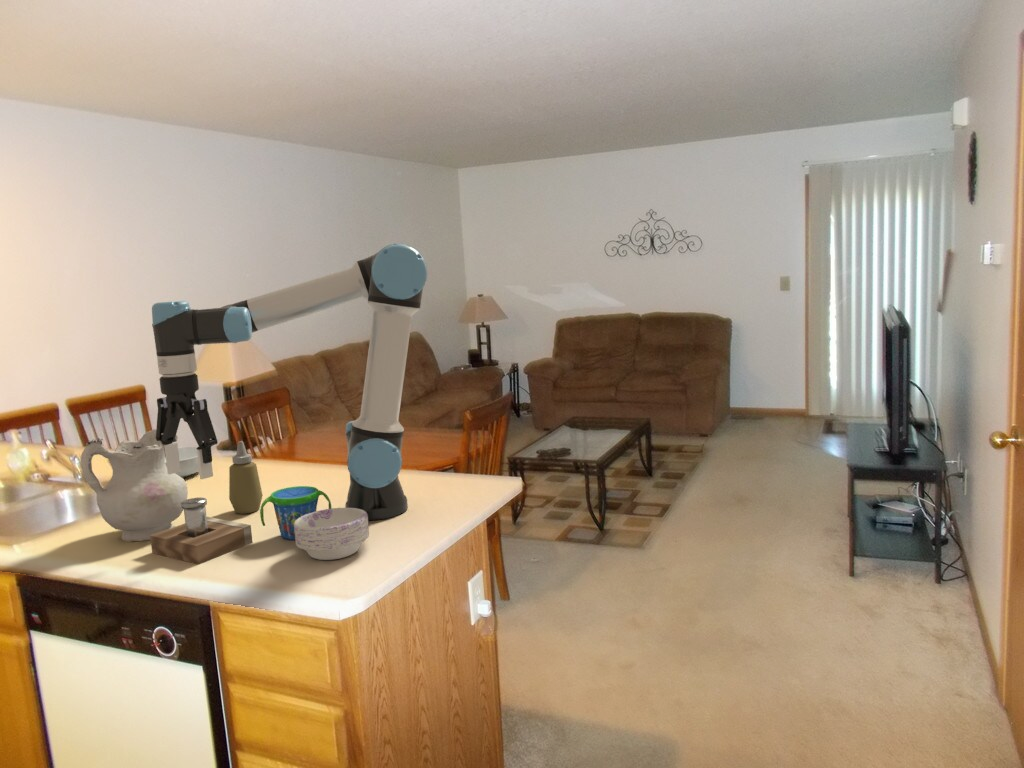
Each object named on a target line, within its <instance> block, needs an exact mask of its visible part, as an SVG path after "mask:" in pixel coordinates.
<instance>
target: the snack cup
mask: <svg viewBox="0 0 1024 768" xmlns="http://www.w3.org/2000/svg"><path fill="white" fill-rule="evenodd" d="M320 496H323V497H324V498H325V499H326V500H327V502H328V509H332V508H333V507H332V502H331V499H330V498H329V496H328V495H327V493H326V492H324V491H322V490H319V488H317V487H314V486H310V485H309V486H307V485H305V486H304V485H302V486H301V485H300V486H299V485H298V486H297V485H295V486H290V487H284V488H281V489H278V490H275V491H273V492H272V493H271V494H270V496H267V497H266V498H265V499H264V500H263V501H262V502H261V503H262V504H260V508H259V510H260V511H259V516H260V521H261V524H262V526H263V527H265V526H266V523H265V520H264V507H265V505H267V504H268V503H269V502H270V503H272V504H273V508H274V512H275V518H276V521H277V526H278V528H279V532H280V537H282V538H284V539H286V540H290V541H291V540H295V530H294V522H295V521H296V520H297V519H298V518H300V517H301V516H303V515H306V514H309V513H312V512H316V511H317V507H318V502H319V497H320Z"/></svg>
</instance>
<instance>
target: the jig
mask: <svg viewBox="0 0 1024 768" xmlns="http://www.w3.org/2000/svg"><path fill="white" fill-rule="evenodd" d="M207 525H208V533H206V534H203V535H200V536H198V537H195V538H192V537H188V536H187V532H186V524H185V523H182V524H180V525H177V526H176V527H173V528H170V529H168V530H165V531H162V532H159V533H156V534H153V535H150V540H149V541H150V546H151V554H154V555H155V554H156V555H159V556H163V557H168V558H170V559H175V560H179V561H184V562H188V563H192V564H197V565H200V564H203V563H206V562H208V561H210V560H213V559H215V558H217V557H220V556H223V555H225V554H228V553H230V552H233V551H235V550H238V549H240V548H243V547H245V546H248V545H250V544H253V534H252V525H251V524H247V523H242V522H238V521H237V522H236V521H232V520H226V519H221V518H215V517H210V516H207Z"/></svg>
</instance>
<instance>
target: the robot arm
mask: <svg viewBox="0 0 1024 768" xmlns="http://www.w3.org/2000/svg"><path fill="white" fill-rule="evenodd" d="M427 279H428V267H427V264H426V261H425V259H424V257H423V256H422V254H421V253H420V252H419V251H418V250H417V249H416V248H414V247H412V246H410V245H407V244H404V243H392V244H388V245H386V246H384V247H382V248H381V249H380V250H379V251H378V252H376V253H375V254H372V255H371V256H368V257H366V258H363V259H360V260H357V261H355V262H354V264H353V265H352V266H351V267H349V268H346V269H342V270H339V271H335V272H333V273H328V274H326V275H323V276H320V277H316V278H312V279H310V280H306V281H304V282H300V283H297V284H294V285H290V286H287V287H284V288H281V289H277V290H273V291H270V292H268V293H264V294H260V295H257V296H255V297H251V298H248V299H245V300H241V301H238V302H235V303H232V304H226V305H224V306H221V307H216V308H215V307H214V308H204V309H203V308H202V309H198V308H197V309H193V308H191V306H190V302H188V301H187V300H181V301H180V300H179V301H174V300H173V301H161V302H156V303H153V304H152V307H151V316H152V317H151V318H152V325H151V326H152V330H153V337H154V344H155V352H156V358H157V366H158V367H157V369H158V374H159V375H160V377H159V378H158V380H159V386H160V392H161V394H162V395H165V397H160V398H157V399H156V404H157V405H156V406H157V417H156V428H155V429H156V440H157V441H161V443H162V444H163V445H164V451H165V457H166V464H167V472H168V474H173V473H177V472H181V470H180V461H179V453H178V447H179V445H178V442H177V441H178V439H177V440H176V439H175V437H176V434H177V432H178V429H179V425H180V422H181V419H183V422H185V423H187V426H188V427H189V429H190V432H191V433H192V435H193V437H194V439H195V442H196V443H197V445H198V446H199V447H197V456H198V465H199V471H198V472H199V479H200V480H204V479H208V478H209V479H210V478H211V477H214V473H213V464H212V461H213V455H212V447H213V446H214V445H218V441H219V440H218V439H217V436H216V432H215V429H214V425H213V422H212V419H211V416H210V413H209V410H208V401H207V399H206V398H203V399H198V398H197V397H196V392H197V391H199V388H200V386H199V378H198V377H199V376H198V374H197V373H196V371H198V366H197V359H196V352H195V351H196V350H195V346H196V345H197V346H200V345H211V344H212V345H213V344H215V345H216V344H229V343H230V344H231V343H232V344H237V343H242V342H248V341H250V340H251V339H252V337H253V336H252V335H253V333H255V332H258V331H262V330H264V329H268V328H271V327H274V326H277V325H280V324H284V323H288V322H290V321H294V320H297V319H301V318H303V317H306V316H310V315H312V314H317V313H319V312H323V311H326V310H329V309H332V308H335V307H338V306H342V305H346V304H348V303H352V302H354V301H359V300H362V299H363V300H366V301H367V303H368V305H369V306H370V307H371V309H372V310H373V313H372V320H371V328H370V336H369V343H368V351H367V352H368V353H367V361H366V366H365V367H366V368H365V376H364V383H363V390H362V398H361V408H360V414H359V416H358V417H357V418H356V419H355V420H352V421H348V422H347V423H346V425H345V437H346V448H347V459H346V460H347V461H346V466H347V470H348V472H349V479H350V480H349V482H350V484H349V488H348V492H347V499H346V501H345V505H344V506H345V507H344V508H357V509H361V510H364V511H365V512H366V513H367V515H368V521H374V520H376V521H377V520H384V519H389V518H392V517H393V518H394V517H397V516H398V515H402V514H404V513H405V512H406V511H407V510H408V509H407V508H409V505H408V498H407V496H406V494H405V493H404V489H403V487H402V484H401V482H400V478H399V474H400V472H401V469H402V466H403V459H402V458H403V457H402V447H403V438H404V433H405V431H404V430H405V428H404V426H403V425H402V424H401V423H400V421H399V418H400V417H399V416H400V409H401V403H402V396H403V395H402V394H403V387H404V380H405V373H406V365H407V359H408V358H407V357H408V352H409V351H408V350H409V343H410V342H409V341H410V335H411V328H412V327H411V326H412V322H413V321H412V319H413V316H414V315H415V314H416V313H417V312H419V311H420V310H421V305H422V298H423V289H424V287H425V285H426V282H427ZM161 375H162V376H161ZM162 433H163V434H162ZM161 434H162V435H161ZM401 513H402V514H401Z"/></svg>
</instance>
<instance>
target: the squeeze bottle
mask: <svg viewBox="0 0 1024 768" xmlns="http://www.w3.org/2000/svg"><path fill="white" fill-rule="evenodd" d="M231 459H232V464H231V465H230V466H229V471H228V472H229V473H228V474H229V477H228V478H229V479H228V480H229V482H228V483H229V485H228V487H229V488H228V489H229V492H228V494H229V495H228V497H229V502H230V504H231V505H232V508H233V511H234V512H235V513H236V514H242V515H243V514H251V513H253V512H257V511H259V510H260V509H261V505H262V504H261V503H262V499H263V490H262V487H261V481H260V477H259V471H258V466H257V464H256V463H255V462H254V461H253V457H252V454H251V453H248V452H247V449H246V447H245V443H244V441H243V440H240V441H237V446H236V454H235V455H233V456H232V458H231Z"/></svg>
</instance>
